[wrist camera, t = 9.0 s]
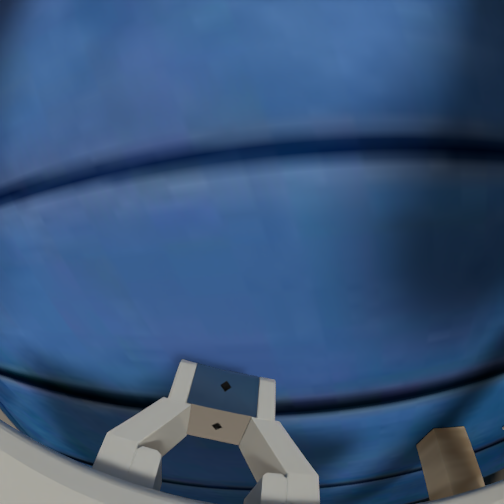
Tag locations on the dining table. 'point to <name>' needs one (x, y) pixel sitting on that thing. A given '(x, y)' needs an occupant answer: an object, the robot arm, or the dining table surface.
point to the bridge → (448, 463)
